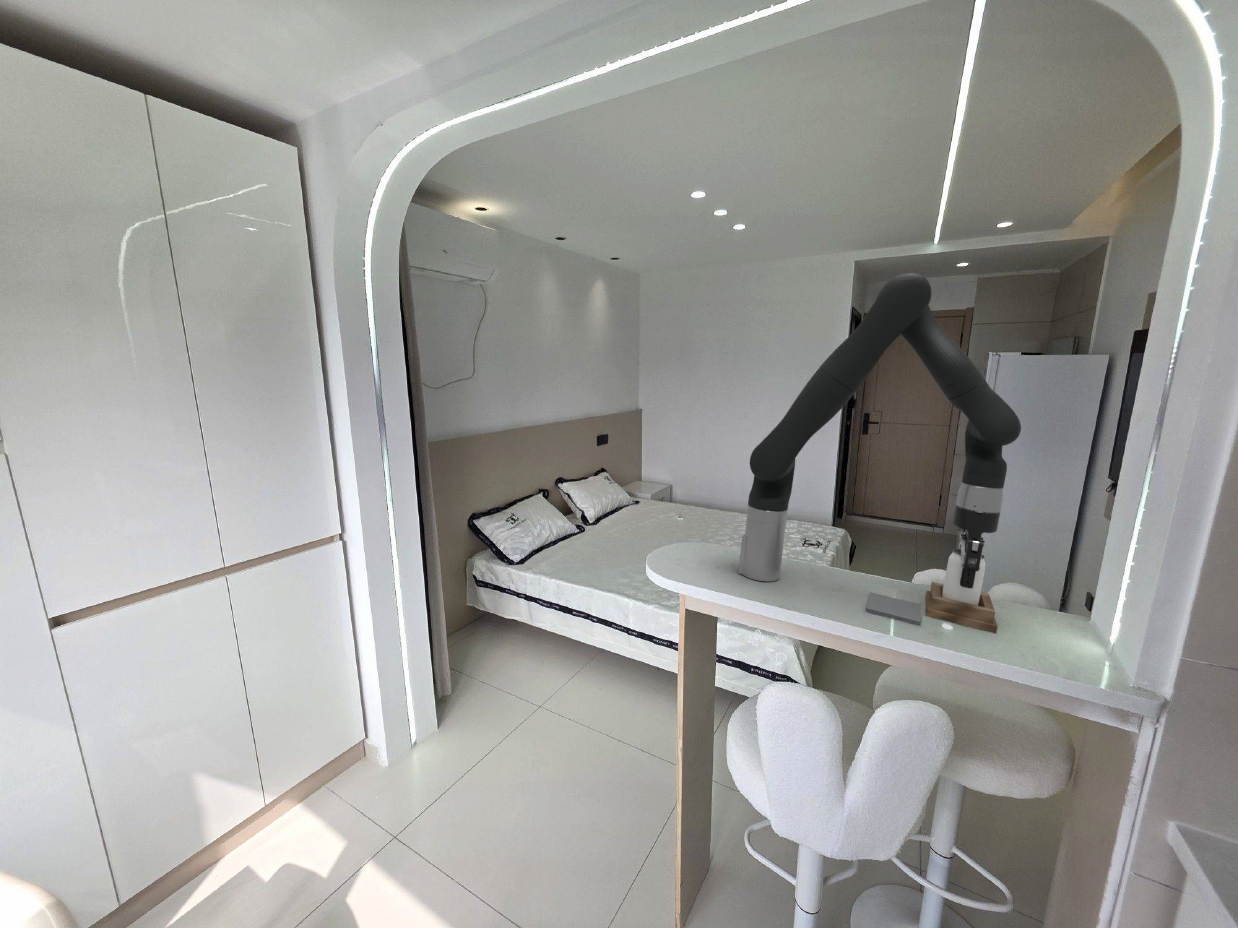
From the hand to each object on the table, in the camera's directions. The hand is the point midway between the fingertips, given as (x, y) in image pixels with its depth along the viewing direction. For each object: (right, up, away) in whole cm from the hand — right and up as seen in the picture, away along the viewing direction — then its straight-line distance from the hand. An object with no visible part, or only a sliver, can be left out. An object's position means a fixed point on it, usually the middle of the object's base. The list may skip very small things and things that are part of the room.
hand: (964, 580), depth 105 cm
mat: (-14, -7, +1) cm, 16 cm away
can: (-1, -6, +1) cm, 6 cm away
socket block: (0, -7, +1) cm, 8 cm away
